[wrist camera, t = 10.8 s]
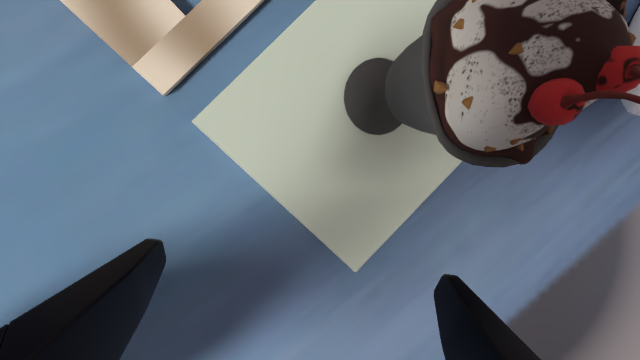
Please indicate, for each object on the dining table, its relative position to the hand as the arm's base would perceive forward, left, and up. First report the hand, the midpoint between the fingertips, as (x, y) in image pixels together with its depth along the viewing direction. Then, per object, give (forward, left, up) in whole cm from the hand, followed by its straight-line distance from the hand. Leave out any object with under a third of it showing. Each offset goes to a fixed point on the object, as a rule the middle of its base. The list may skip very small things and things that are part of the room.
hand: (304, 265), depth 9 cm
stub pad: (+10, -1, -11) cm, 14 cm away
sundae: (+9, 0, -10) cm, 14 cm away
